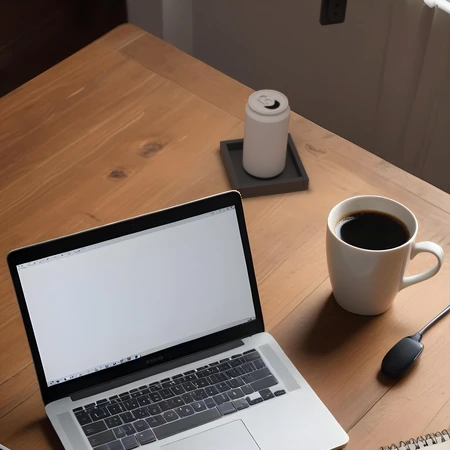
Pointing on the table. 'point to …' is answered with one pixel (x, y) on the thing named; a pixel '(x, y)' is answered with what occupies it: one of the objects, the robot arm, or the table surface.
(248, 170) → the beverage can
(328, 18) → the robot arm
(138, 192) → the table surface
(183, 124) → the table surface
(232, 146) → the coaster
